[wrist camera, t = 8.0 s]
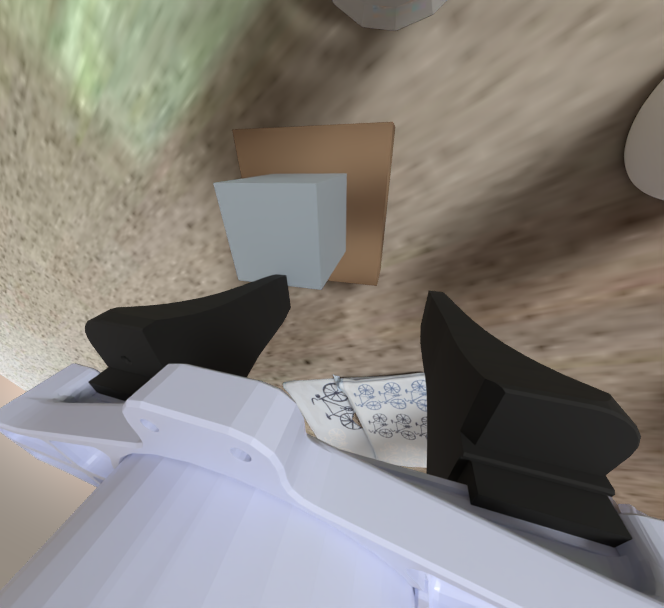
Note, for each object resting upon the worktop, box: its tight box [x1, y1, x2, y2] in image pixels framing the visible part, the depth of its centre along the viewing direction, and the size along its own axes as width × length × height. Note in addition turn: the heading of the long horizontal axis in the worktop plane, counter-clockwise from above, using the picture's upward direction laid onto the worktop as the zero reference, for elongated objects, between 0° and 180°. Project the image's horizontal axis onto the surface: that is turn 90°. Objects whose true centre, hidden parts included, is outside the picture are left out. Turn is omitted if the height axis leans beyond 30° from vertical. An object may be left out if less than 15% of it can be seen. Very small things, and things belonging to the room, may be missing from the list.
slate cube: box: [213, 173, 347, 290], centre depth 14 cm, size 5×5×6 cm
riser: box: [232, 122, 395, 286], centre depth 18 cm, size 10×10×3 cm
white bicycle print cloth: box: [283, 373, 427, 468], centre depth 32 cm, size 19×20×2 cm
